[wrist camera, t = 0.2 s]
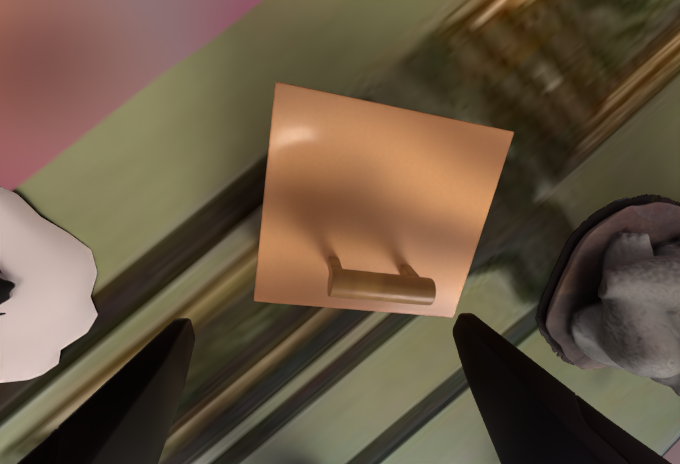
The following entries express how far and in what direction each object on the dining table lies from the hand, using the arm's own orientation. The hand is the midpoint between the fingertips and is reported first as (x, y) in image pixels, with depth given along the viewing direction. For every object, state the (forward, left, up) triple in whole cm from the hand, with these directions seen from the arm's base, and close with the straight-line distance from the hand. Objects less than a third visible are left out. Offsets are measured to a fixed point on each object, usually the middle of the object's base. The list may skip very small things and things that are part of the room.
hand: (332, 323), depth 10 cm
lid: (+3, -2, -10) cm, 11 cm away
